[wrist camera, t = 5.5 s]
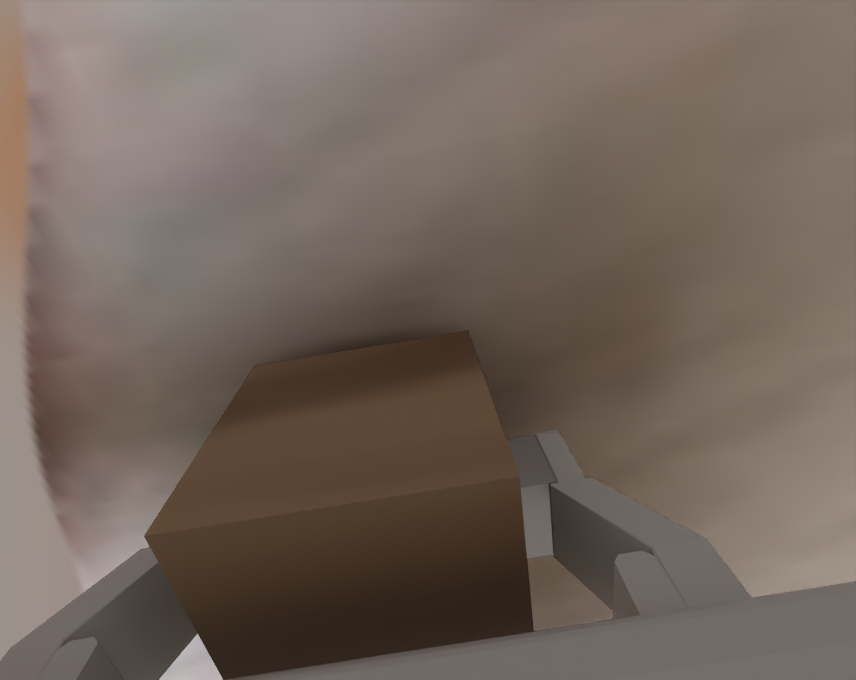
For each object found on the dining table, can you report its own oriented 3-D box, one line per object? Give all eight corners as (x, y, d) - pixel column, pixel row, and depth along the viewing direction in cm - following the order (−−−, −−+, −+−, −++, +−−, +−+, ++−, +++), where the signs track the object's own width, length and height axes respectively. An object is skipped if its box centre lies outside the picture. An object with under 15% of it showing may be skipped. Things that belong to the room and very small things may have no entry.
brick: (254, 365, 11) (144, 536, 6) (467, 330, 11) (519, 476, 6) (310, 524, 13) (258, 743, 8) (488, 496, 13) (540, 699, 8)
